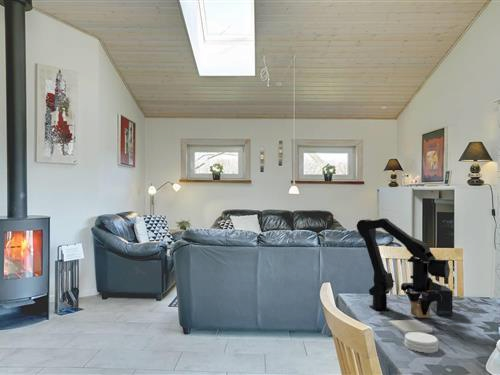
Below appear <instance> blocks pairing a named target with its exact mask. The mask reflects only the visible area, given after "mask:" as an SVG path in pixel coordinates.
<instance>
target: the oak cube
mask: <svg viewBox="0 0 500 375" xmlns="http://www.w3.org/2000/svg"><path fill="white" fill-rule="evenodd" d="M410 315H412V316H414V317H416V318H418V319H421V318H422V319H423V318H424V319H425V318H431V308H430V306H429V308H428V311H427V313H426V315H423V313H422V310H421V306H420V302H419V301H414V302H410Z"/></svg>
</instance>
